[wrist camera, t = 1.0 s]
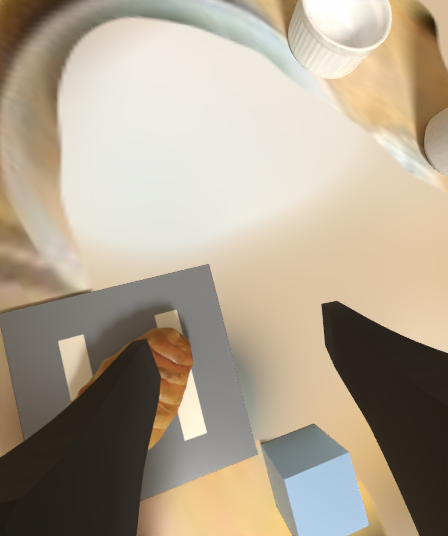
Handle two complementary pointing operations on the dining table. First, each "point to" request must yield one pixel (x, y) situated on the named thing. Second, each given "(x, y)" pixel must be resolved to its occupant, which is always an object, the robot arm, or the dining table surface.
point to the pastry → (162, 374)
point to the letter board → (112, 341)
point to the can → (437, 142)
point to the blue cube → (314, 484)
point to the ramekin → (337, 33)
